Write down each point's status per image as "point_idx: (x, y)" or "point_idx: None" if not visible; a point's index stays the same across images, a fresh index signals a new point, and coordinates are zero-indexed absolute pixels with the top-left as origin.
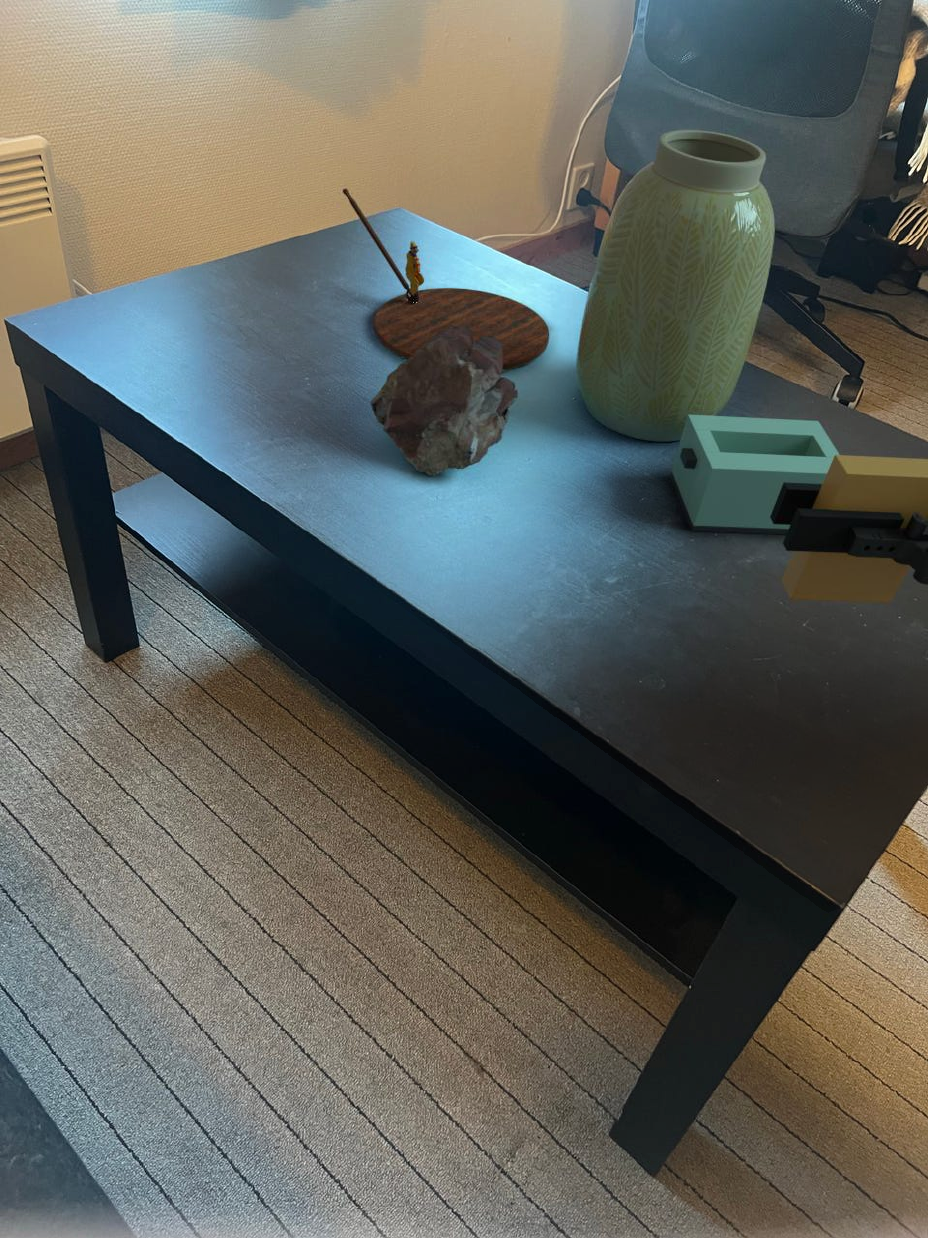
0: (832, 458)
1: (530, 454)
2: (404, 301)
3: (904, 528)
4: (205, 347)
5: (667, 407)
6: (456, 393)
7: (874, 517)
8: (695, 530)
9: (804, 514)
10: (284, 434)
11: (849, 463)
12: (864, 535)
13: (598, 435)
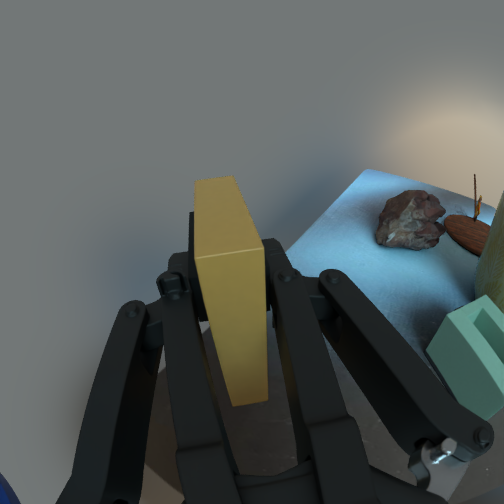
0: None
1: (426, 271)
2: (472, 219)
3: (192, 295)
4: (394, 190)
5: (491, 293)
6: (400, 210)
7: (191, 253)
8: (425, 354)
9: (191, 213)
10: (366, 209)
11: (216, 181)
12: (175, 259)
13: (466, 293)
